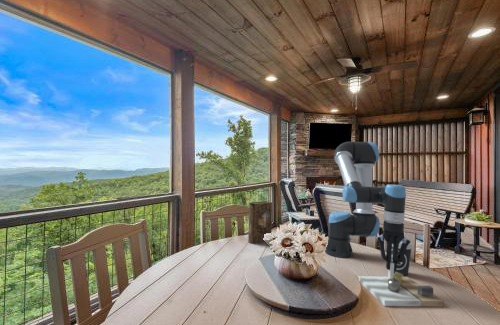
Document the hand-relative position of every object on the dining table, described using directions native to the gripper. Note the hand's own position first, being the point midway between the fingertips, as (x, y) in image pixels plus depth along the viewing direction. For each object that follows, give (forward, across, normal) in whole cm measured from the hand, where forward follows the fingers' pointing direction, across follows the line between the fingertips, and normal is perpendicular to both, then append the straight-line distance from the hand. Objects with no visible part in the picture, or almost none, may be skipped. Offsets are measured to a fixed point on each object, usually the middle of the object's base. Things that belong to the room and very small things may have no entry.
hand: (390, 277), depth 109 cm
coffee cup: (+4, +9, +16) cm, 18 cm away
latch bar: (+1, +1, -4) cm, 4 cm away
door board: (+4, +1, -6) cm, 7 cm away
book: (+6, -64, +46) cm, 79 cm away
